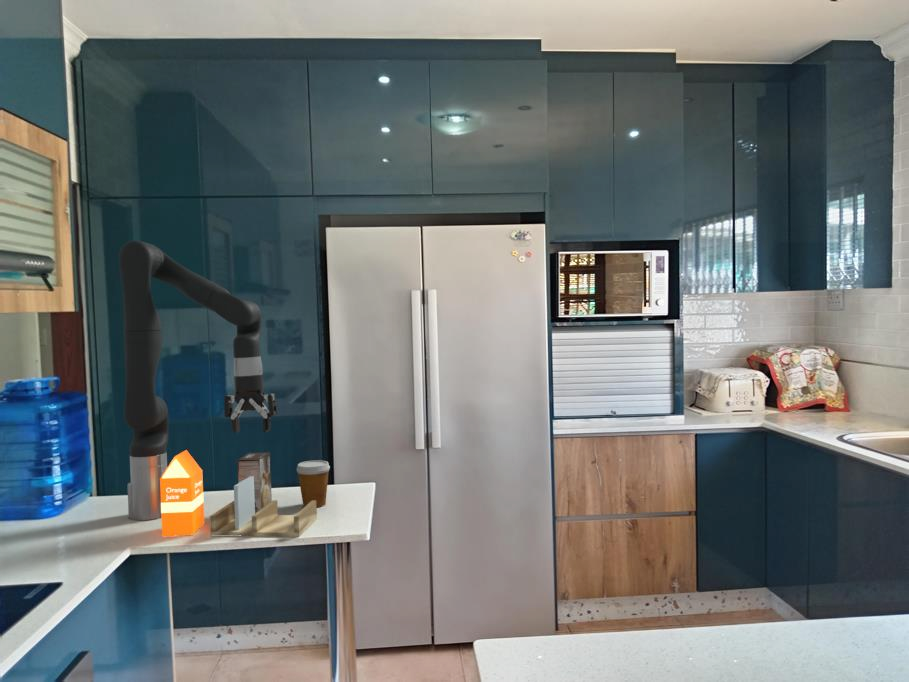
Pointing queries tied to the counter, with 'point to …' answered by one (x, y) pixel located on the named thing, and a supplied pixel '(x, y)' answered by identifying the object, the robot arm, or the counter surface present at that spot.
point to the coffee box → (257, 476)
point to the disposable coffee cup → (313, 481)
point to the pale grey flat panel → (244, 502)
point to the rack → (264, 521)
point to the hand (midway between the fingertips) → (251, 432)
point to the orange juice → (182, 496)
